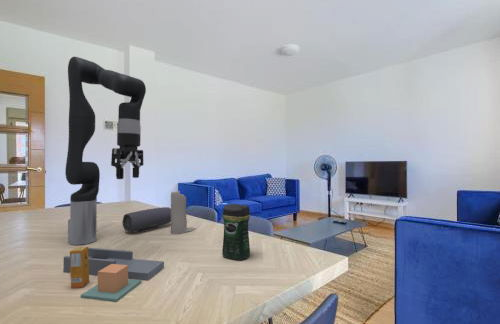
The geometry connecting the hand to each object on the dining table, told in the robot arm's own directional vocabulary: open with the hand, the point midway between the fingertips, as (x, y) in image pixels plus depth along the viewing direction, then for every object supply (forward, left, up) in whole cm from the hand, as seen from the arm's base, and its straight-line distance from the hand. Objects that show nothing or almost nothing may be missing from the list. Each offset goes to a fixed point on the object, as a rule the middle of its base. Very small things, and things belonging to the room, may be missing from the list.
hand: (128, 178), depth 92 cm
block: (+12, -23, -27) cm, 37 cm away
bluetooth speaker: (-13, +34, -28) cm, 46 cm away
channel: (+3, -12, -28) cm, 30 cm away
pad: (+12, -23, -28) cm, 38 cm away
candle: (+5, +35, -28) cm, 45 cm away
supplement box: (+2, -22, -28) cm, 36 cm away
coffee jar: (+38, +7, -28) cm, 48 cm away
